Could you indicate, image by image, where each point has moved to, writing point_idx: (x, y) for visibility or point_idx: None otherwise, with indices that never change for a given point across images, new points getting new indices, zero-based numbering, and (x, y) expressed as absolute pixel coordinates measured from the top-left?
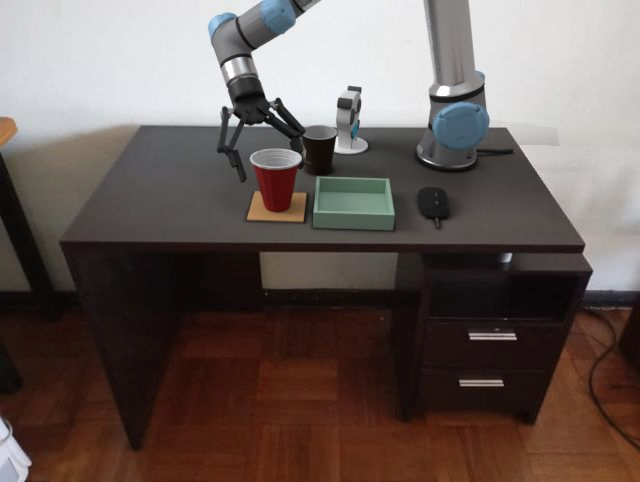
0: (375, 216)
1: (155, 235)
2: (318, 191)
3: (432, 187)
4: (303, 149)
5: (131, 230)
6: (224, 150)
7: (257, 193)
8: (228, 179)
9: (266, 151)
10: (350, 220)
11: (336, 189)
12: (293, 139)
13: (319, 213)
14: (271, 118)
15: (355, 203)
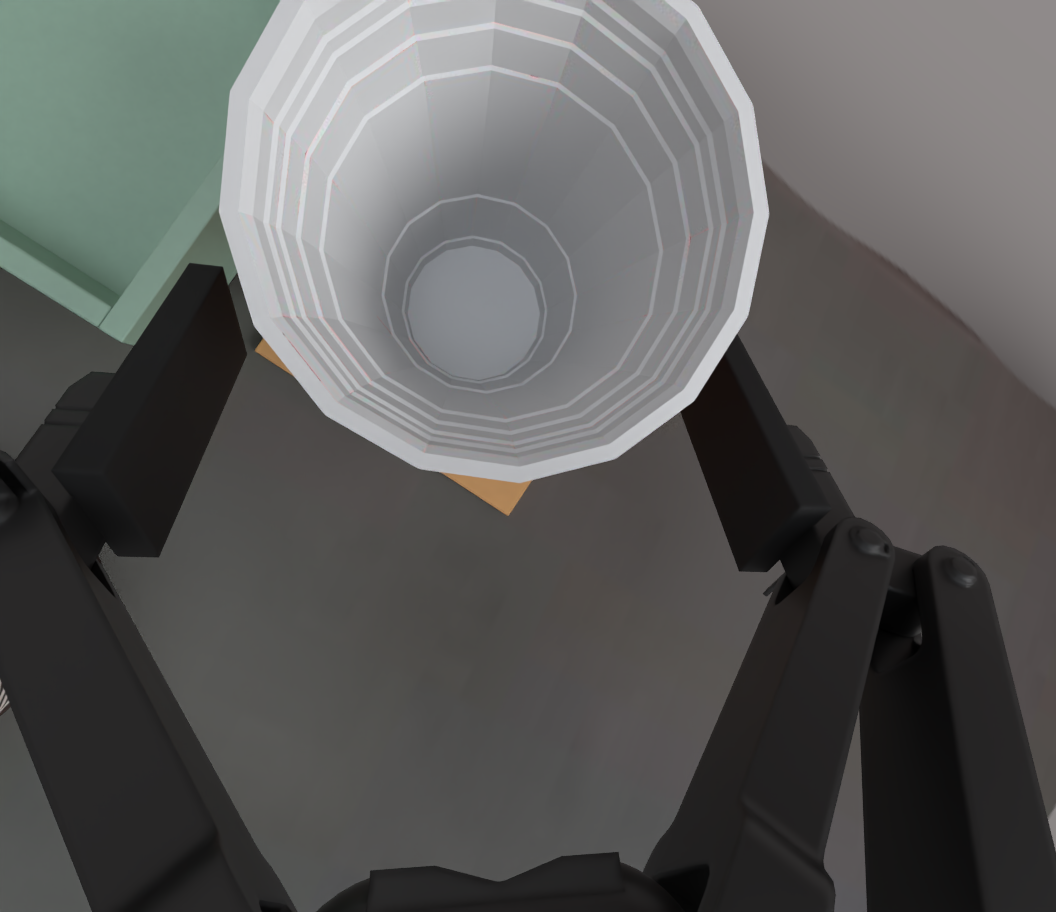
0: None
1: (991, 397)
2: None
3: None
4: (1, 688)
5: (1043, 479)
6: (898, 549)
7: (507, 485)
8: (563, 707)
9: (494, 454)
10: None
11: (55, 255)
12: (109, 456)
13: None
14: (226, 855)
15: (30, 71)
